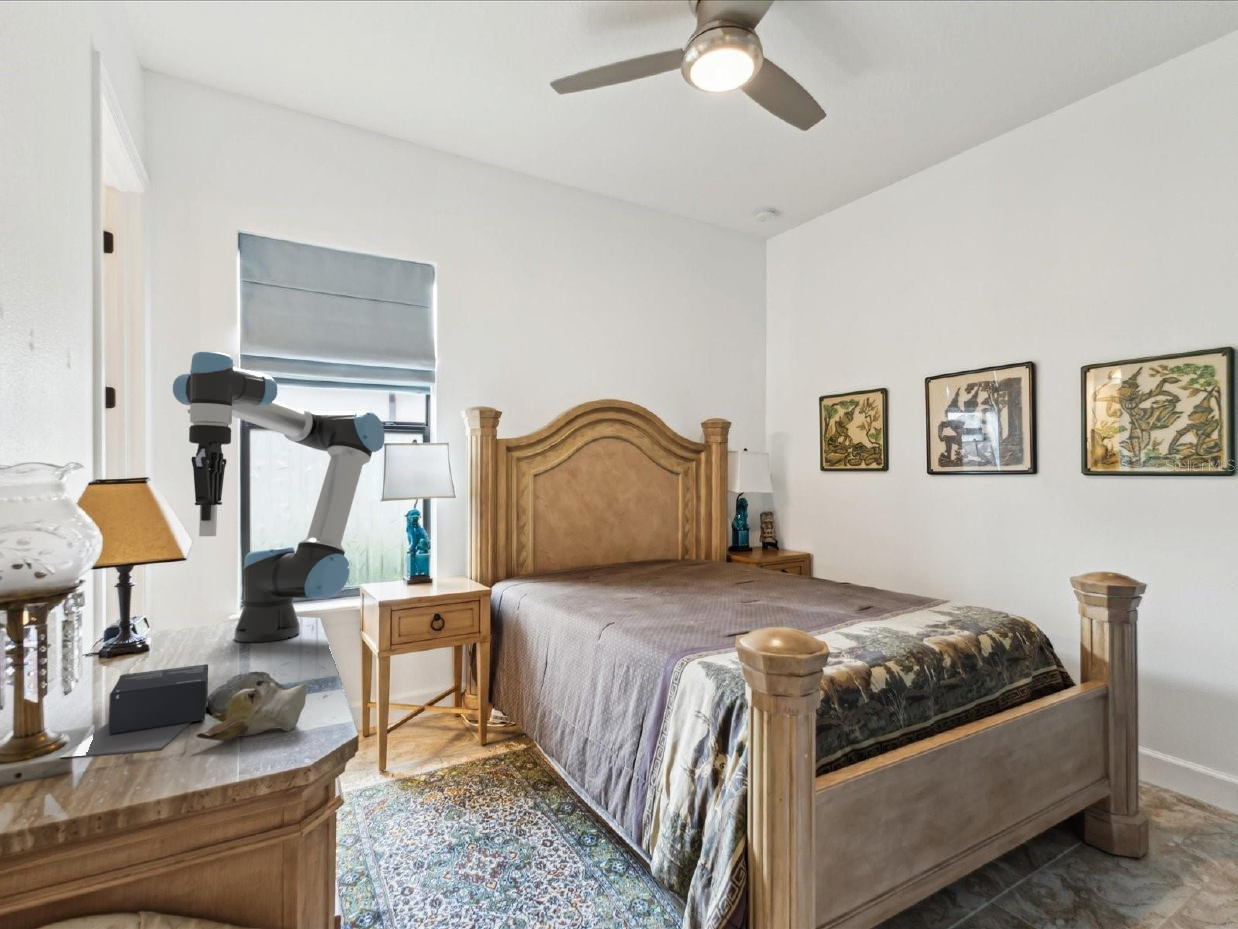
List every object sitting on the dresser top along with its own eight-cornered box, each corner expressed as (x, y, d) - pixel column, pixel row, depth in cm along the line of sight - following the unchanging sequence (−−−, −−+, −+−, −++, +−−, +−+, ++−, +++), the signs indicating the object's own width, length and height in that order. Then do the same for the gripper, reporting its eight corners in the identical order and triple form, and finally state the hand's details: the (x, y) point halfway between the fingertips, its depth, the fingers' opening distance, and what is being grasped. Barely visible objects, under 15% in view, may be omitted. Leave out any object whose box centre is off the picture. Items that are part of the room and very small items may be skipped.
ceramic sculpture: (302, 683, 101) (193, 699, 95) (305, 737, 100) (195, 756, 95) (310, 665, 111) (211, 679, 105) (312, 715, 110) (213, 731, 105)
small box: (118, 714, 110) (106, 736, 100) (120, 674, 110) (107, 692, 100) (208, 700, 117) (205, 720, 106) (209, 663, 117) (206, 679, 107)
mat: (122, 715, 110) (122, 713, 110) (206, 708, 113) (206, 707, 113) (60, 758, 92) (60, 756, 92) (161, 749, 96) (161, 747, 96)
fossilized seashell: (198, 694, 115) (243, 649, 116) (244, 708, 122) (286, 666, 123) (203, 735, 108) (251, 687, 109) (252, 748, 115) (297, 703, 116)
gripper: (202, 427, 139) (199, 533, 139) (177, 421, 127) (174, 539, 126) (240, 428, 141) (237, 533, 141) (219, 423, 129) (216, 538, 128)
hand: (207, 536), depth 133 cm, fingers closed
